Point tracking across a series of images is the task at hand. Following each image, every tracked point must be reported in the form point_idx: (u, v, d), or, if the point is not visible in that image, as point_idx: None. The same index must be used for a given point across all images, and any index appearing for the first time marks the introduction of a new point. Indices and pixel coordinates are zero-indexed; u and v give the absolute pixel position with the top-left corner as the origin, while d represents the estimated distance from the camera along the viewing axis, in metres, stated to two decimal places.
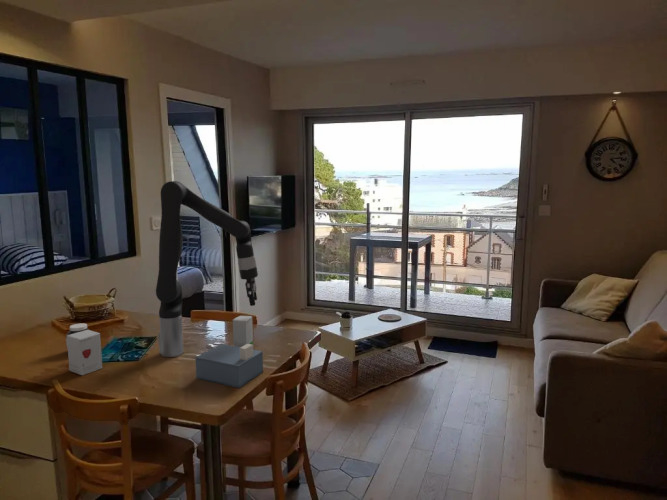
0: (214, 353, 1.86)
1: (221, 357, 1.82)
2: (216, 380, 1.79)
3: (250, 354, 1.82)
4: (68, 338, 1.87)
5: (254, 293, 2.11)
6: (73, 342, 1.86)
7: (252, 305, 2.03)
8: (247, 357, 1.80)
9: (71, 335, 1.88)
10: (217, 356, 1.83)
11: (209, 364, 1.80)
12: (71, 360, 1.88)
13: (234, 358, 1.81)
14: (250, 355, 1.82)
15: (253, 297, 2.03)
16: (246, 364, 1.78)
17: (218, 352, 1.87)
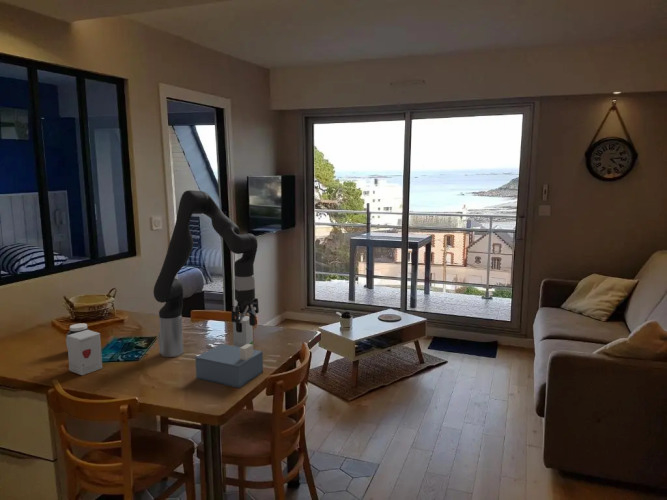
0: (214, 353, 1.86)
1: (221, 357, 1.82)
2: (216, 380, 1.79)
3: (250, 354, 1.82)
4: (68, 338, 1.87)
5: (252, 317, 1.83)
6: (73, 342, 1.86)
7: None
8: (247, 357, 1.80)
9: (71, 335, 1.88)
10: (217, 356, 1.83)
11: (209, 364, 1.80)
12: (71, 360, 1.88)
13: (234, 358, 1.81)
14: (250, 355, 1.82)
15: (240, 323, 1.75)
16: (246, 364, 1.78)
17: (218, 352, 1.87)
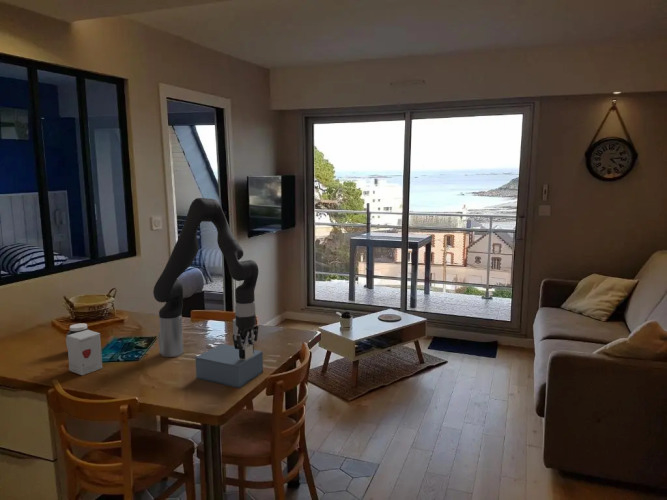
0: (214, 353, 1.86)
1: (221, 357, 1.82)
2: (216, 380, 1.79)
3: (250, 354, 1.82)
4: (68, 338, 1.87)
5: None
6: (73, 342, 1.86)
7: (241, 358, 1.79)
8: (247, 357, 1.80)
9: (71, 335, 1.88)
10: (217, 356, 1.83)
11: (209, 364, 1.80)
12: (71, 360, 1.88)
13: (234, 358, 1.81)
14: (250, 355, 1.82)
15: (243, 350, 1.78)
16: (246, 364, 1.78)
17: (218, 352, 1.87)
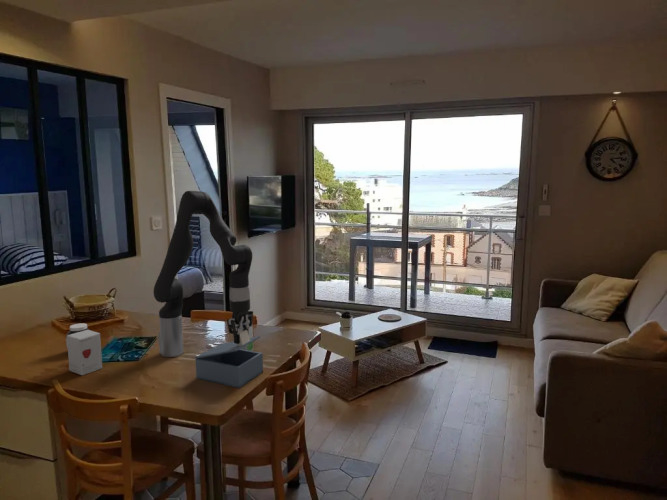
0: (213, 350, 1.86)
1: (219, 350, 1.82)
2: (216, 380, 1.79)
3: (246, 339, 1.81)
4: (68, 338, 1.87)
5: None
6: (73, 342, 1.86)
7: (236, 343, 1.79)
8: (244, 342, 1.80)
9: (71, 335, 1.88)
10: (216, 350, 1.83)
11: (209, 364, 1.80)
12: (71, 360, 1.88)
13: (232, 347, 1.80)
14: (247, 340, 1.81)
15: (238, 334, 1.78)
16: (246, 364, 1.78)
17: (217, 348, 1.87)
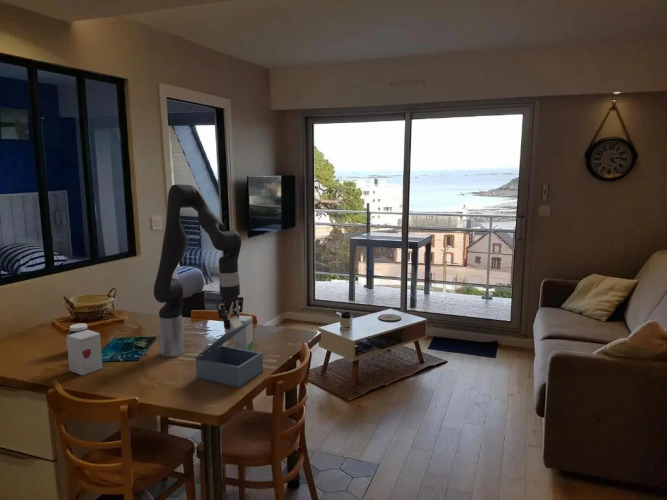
0: None
1: (216, 342, 1.82)
2: (216, 380, 1.79)
3: (237, 323, 1.82)
4: (68, 338, 1.87)
5: None
6: (73, 342, 1.86)
7: (226, 328, 1.80)
8: (235, 326, 1.80)
9: (71, 335, 1.88)
10: (213, 344, 1.83)
11: (209, 364, 1.80)
12: (71, 360, 1.88)
13: (226, 335, 1.81)
14: (238, 324, 1.82)
15: (228, 320, 1.79)
16: (246, 364, 1.78)
17: (215, 344, 1.87)
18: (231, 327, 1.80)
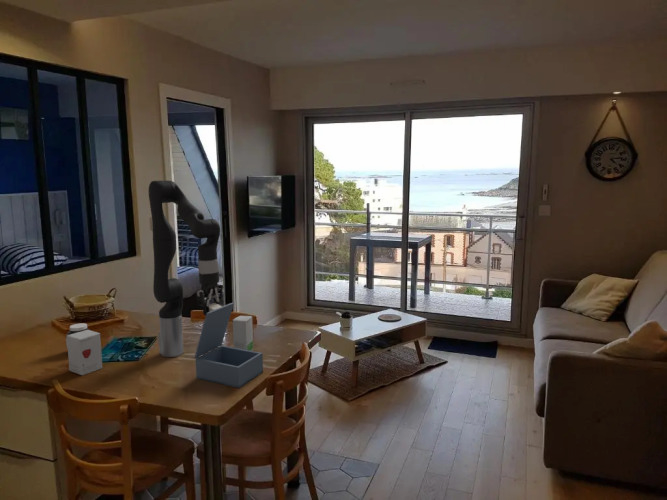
0: None
1: None
2: (216, 380, 1.79)
3: (218, 307, 1.85)
4: (68, 338, 1.87)
5: None
6: (73, 342, 1.86)
7: (205, 315, 1.83)
8: (216, 309, 1.83)
9: (71, 335, 1.88)
10: None
11: (209, 364, 1.80)
12: (71, 360, 1.88)
13: None
14: (219, 307, 1.85)
15: (207, 307, 1.82)
16: (246, 364, 1.78)
17: None
18: None
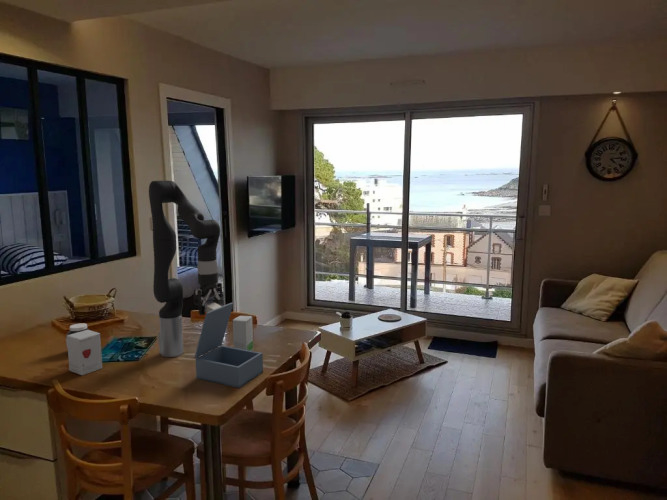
0: None
1: None
2: (216, 380, 1.79)
3: (217, 307, 1.85)
4: (68, 338, 1.87)
5: (216, 301, 1.89)
6: (73, 342, 1.86)
7: (201, 314, 1.82)
8: (216, 309, 1.83)
9: (71, 335, 1.88)
10: None
11: (209, 364, 1.80)
12: (71, 360, 1.88)
13: None
14: (219, 307, 1.85)
15: (203, 306, 1.81)
16: (246, 364, 1.78)
17: None
18: None
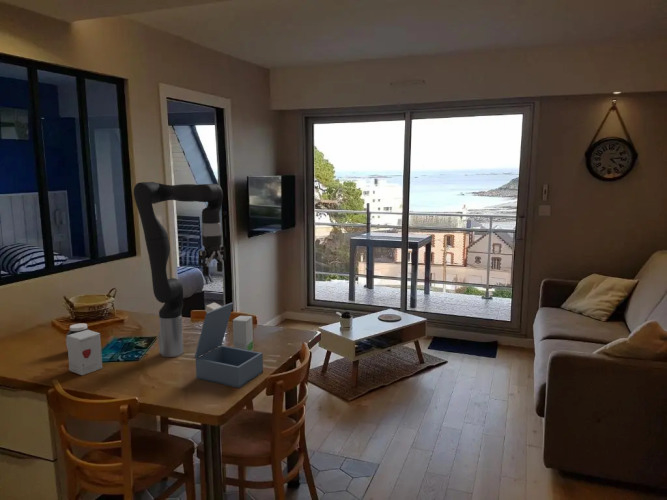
0: None
1: None
2: (216, 380, 1.79)
3: (217, 307, 1.85)
4: (68, 338, 1.87)
5: (219, 264, 1.96)
6: (73, 342, 1.86)
7: (205, 275, 1.89)
8: (216, 309, 1.83)
9: (71, 335, 1.88)
10: None
11: (209, 364, 1.80)
12: (71, 360, 1.88)
13: None
14: (219, 307, 1.85)
15: (207, 267, 1.88)
16: (246, 364, 1.78)
17: None
18: None
